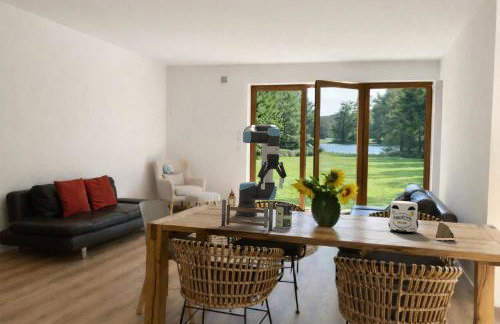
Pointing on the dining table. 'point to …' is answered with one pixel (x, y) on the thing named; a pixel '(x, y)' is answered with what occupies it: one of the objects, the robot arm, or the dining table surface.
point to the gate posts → (269, 214)
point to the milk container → (403, 216)
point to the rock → (444, 231)
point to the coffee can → (283, 215)
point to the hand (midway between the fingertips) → (271, 188)
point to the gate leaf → (247, 211)
